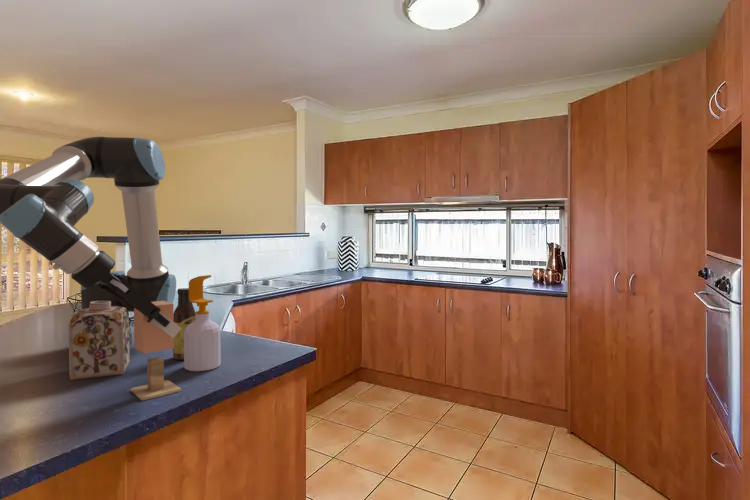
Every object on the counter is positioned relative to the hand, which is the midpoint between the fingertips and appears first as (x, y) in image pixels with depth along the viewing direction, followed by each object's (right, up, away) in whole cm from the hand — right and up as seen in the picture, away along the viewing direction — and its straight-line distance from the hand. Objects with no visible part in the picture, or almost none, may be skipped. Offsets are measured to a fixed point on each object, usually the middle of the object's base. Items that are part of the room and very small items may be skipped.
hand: (170, 330), depth 97 cm
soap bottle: (+1, -13, +16) cm, 21 cm away
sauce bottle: (-8, -13, +25) cm, 29 cm away
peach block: (-3, -3, -2) cm, 5 cm away
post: (-3, -13, -1) cm, 14 cm away
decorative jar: (-24, -13, +13) cm, 30 cm away
